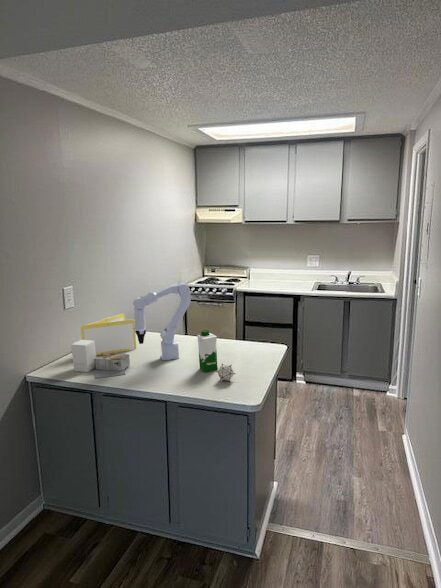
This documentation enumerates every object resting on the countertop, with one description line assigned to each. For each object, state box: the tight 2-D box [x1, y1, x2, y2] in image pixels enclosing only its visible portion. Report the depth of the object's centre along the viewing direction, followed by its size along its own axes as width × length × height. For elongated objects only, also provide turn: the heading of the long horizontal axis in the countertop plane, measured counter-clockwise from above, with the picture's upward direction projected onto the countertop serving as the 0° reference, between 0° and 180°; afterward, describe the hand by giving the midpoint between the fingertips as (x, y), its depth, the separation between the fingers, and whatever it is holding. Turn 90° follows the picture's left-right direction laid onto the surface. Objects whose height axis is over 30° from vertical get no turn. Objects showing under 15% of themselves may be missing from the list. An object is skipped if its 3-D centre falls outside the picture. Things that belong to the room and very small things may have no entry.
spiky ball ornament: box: [215, 363, 236, 383], centre depth 200 cm, size 9×8×10 cm
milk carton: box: [197, 329, 219, 373], centre depth 215 cm, size 9×9×20 cm
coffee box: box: [94, 353, 131, 371], centre depth 223 cm, size 9×6×16 cm
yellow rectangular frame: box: [80, 313, 137, 356], centre depth 252 cm, size 35×22×20 cm, turn 150°
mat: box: [94, 368, 126, 380], centre depth 219 cm, size 15×14×1 cm
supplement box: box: [70, 339, 97, 373], centre depth 224 cm, size 9×9×15 cm
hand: (141, 343), depth 231 cm, fingers closed
